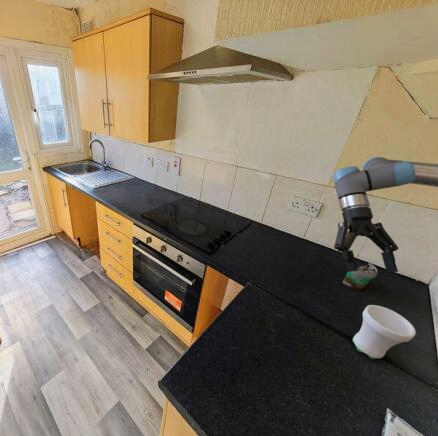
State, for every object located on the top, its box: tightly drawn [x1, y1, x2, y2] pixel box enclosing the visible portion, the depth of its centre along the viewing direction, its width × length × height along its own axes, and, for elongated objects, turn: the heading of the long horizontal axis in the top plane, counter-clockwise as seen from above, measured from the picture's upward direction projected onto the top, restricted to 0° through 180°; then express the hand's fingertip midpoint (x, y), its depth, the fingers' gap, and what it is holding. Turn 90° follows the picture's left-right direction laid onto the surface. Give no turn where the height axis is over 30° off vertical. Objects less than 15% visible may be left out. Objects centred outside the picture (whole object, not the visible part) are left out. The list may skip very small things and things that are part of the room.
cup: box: [351, 304, 417, 360], centre depth 71 cm, size 11×11×14 cm
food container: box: [341, 262, 378, 291], centre depth 98 cm, size 12×6×10 cm, turn 105°
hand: (372, 271), depth 73 cm, fingers open, 13 cm apart
